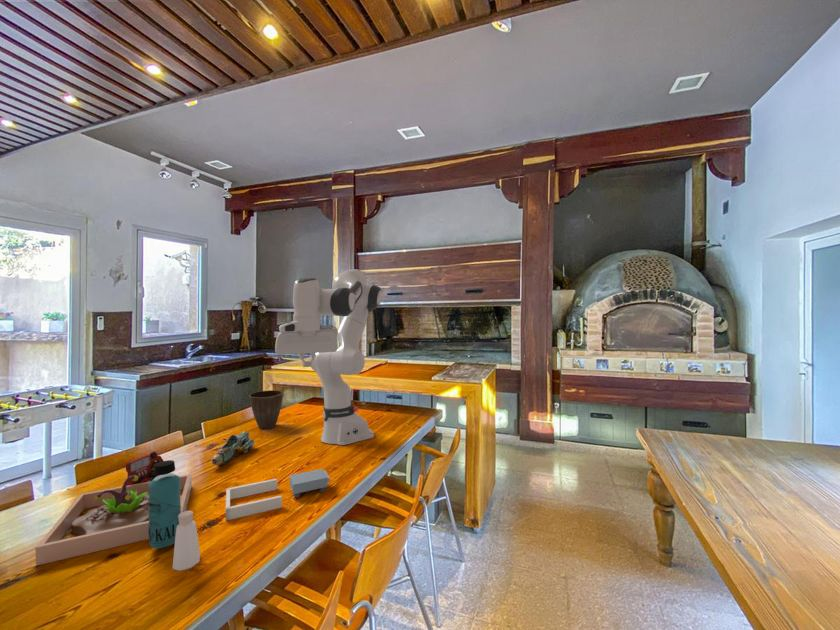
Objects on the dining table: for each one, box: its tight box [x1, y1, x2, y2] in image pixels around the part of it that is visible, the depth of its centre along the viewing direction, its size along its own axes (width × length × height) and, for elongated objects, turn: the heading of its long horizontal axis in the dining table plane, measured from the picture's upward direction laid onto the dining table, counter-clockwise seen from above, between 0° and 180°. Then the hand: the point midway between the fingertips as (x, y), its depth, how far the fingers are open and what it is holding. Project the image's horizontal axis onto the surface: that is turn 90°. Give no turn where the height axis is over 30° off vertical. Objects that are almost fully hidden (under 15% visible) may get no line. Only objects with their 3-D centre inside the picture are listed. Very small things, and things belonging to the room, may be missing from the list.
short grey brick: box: [289, 468, 331, 499], centre depth 114 cm, size 11×7×4 cm, turn 117°
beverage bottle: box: [148, 459, 182, 549], centre depth 88 cm, size 6×7×20 cm
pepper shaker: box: [172, 510, 201, 572], centre depth 82 cm, size 5×5×11 cm
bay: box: [225, 478, 283, 522], centre depth 107 cm, size 14×13×3 cm
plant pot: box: [249, 389, 284, 430], centre depth 178 cm, size 15×15×16 cm
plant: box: [70, 475, 149, 536], centre depth 100 cm, size 20×20×11 cm
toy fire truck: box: [125, 451, 164, 486], centre depth 118 cm, size 7×12×10 cm, turn 167°
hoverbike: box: [211, 431, 255, 466], centre depth 142 cm, size 10×25×8 cm, turn 0°
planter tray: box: [35, 473, 193, 567], centre depth 100 cm, size 27×27×4 cm
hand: (307, 366), depth 125 cm, fingers closed
